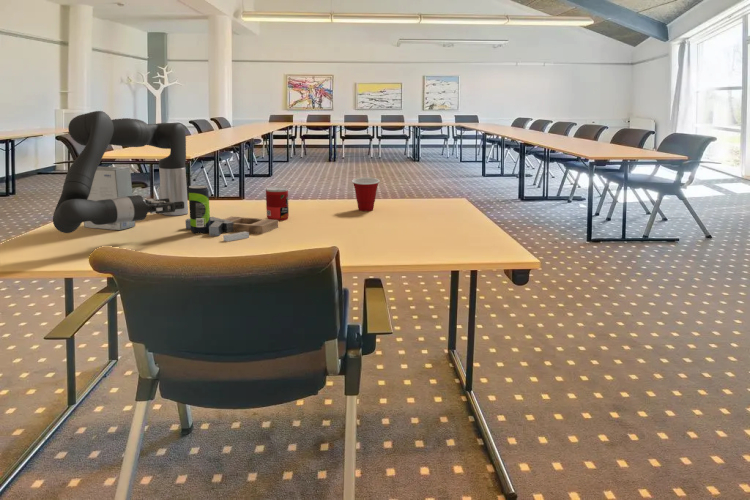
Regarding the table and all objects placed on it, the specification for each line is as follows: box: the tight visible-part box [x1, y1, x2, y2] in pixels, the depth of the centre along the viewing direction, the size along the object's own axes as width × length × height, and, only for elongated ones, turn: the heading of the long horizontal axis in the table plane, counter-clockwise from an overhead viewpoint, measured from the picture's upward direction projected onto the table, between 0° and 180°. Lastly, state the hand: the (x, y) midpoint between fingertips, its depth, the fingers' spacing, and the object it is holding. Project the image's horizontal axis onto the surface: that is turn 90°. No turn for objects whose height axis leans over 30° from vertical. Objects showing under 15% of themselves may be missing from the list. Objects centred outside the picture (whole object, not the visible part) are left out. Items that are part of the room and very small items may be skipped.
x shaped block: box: [185, 216, 234, 237], centre depth 208 cm, size 10×18×3 cm, turn 46°
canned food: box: [265, 186, 290, 222], centre depth 227 cm, size 8×8×11 cm
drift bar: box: [222, 232, 250, 243], centre depth 196 cm, size 8×2×2 cm, turn 136°
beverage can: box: [187, 184, 211, 234], centre depth 204 cm, size 6×6×15 cm
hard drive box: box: [83, 166, 136, 231], centre depth 210 cm, size 16×8×20 cm, turn 71°
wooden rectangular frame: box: [223, 215, 279, 235], centre depth 211 cm, size 18×11×2 cm, turn 72°
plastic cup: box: [351, 177, 381, 212], centre depth 246 cm, size 11×11×12 cm
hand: (176, 203), depth 197 cm, fingers open, 8 cm apart
